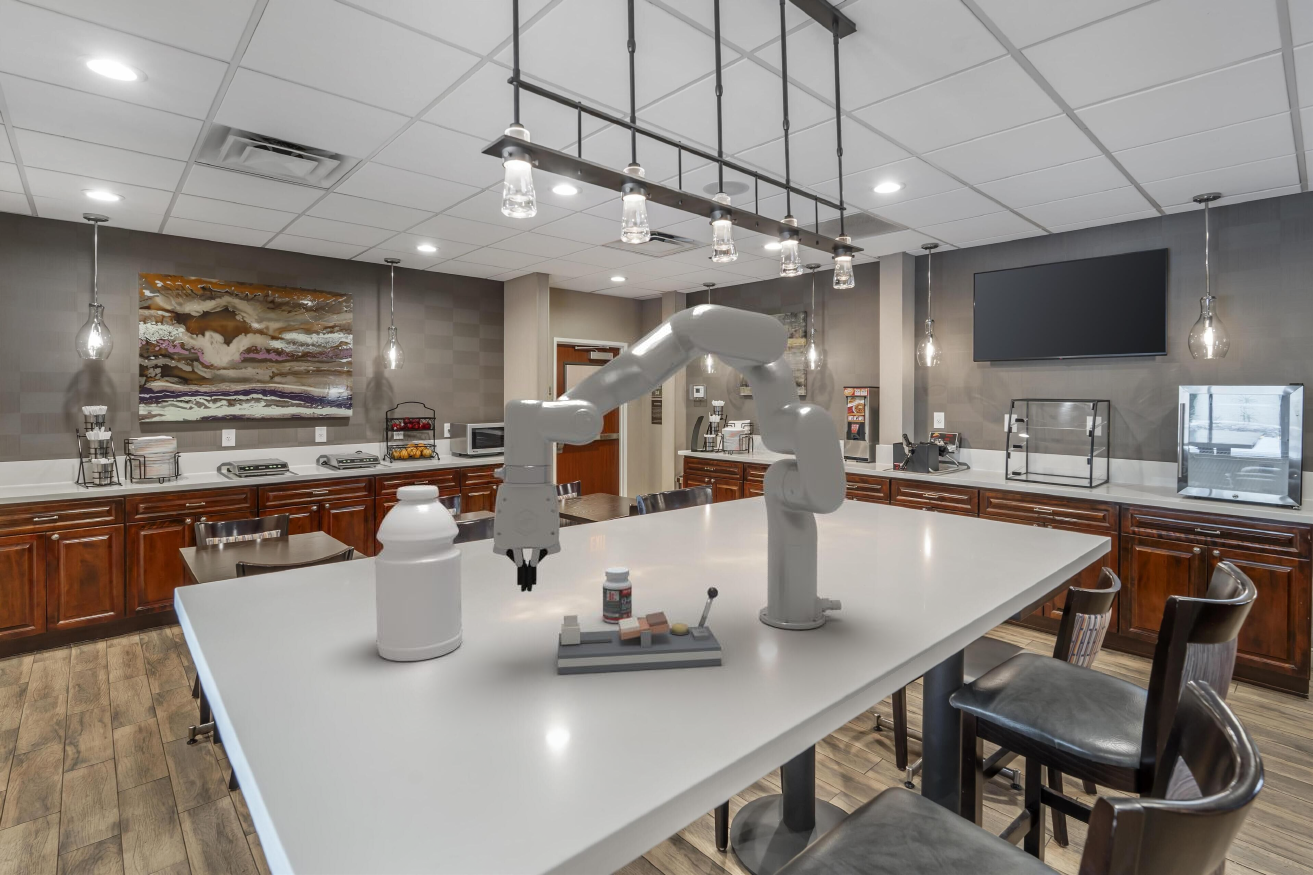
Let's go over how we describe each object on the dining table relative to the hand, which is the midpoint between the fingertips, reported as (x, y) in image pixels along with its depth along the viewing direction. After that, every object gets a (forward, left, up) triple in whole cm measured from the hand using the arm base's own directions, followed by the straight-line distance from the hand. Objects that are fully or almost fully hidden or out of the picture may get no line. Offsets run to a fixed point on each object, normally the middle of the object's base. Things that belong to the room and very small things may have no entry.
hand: (526, 589), depth 101 cm
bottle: (+19, -10, -13) cm, 25 cm away
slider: (-7, 0, -9) cm, 12 cm away
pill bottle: (-16, -20, -13) cm, 29 cm away
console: (-18, 0, -12) cm, 22 cm away
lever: (-28, 0, -8) cm, 30 cm away
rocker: (-19, 0, -7) cm, 20 cm away
